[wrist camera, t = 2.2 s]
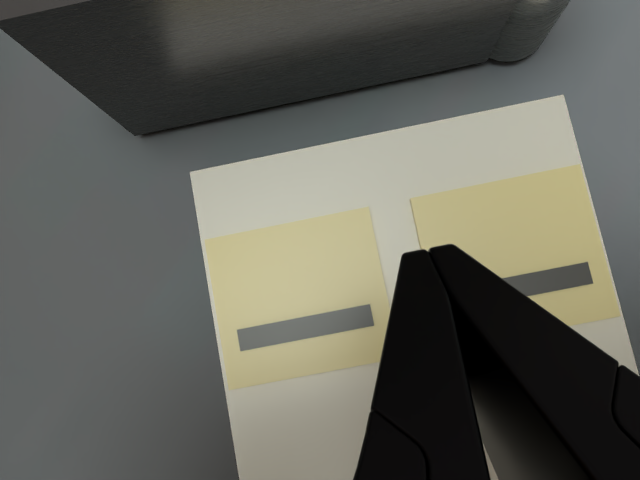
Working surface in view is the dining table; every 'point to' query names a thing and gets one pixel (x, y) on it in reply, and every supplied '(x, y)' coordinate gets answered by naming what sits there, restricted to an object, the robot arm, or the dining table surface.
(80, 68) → the swing panel
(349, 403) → the label board
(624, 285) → the dining table surface
